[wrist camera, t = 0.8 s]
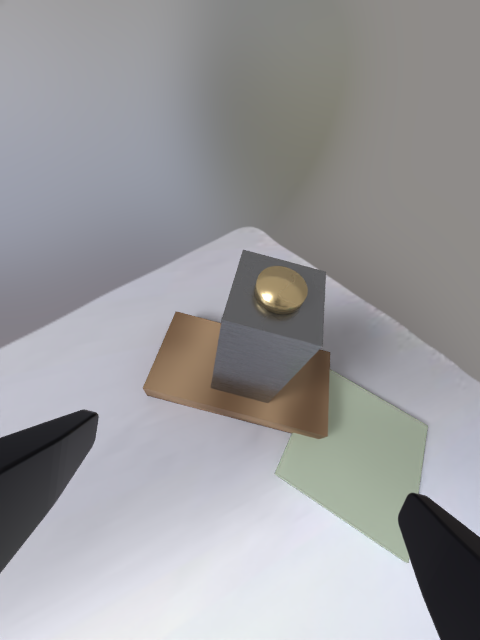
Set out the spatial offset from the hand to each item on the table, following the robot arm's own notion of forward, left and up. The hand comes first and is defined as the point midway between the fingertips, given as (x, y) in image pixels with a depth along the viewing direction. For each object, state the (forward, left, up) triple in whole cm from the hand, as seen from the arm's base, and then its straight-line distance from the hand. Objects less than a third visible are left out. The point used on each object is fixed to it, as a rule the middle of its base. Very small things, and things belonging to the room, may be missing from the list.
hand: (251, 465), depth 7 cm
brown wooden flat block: (+5, -6, -13) cm, 15 cm away
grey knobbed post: (+5, -6, -11) cm, 14 cm away
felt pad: (-5, -10, -13) cm, 17 cm away
